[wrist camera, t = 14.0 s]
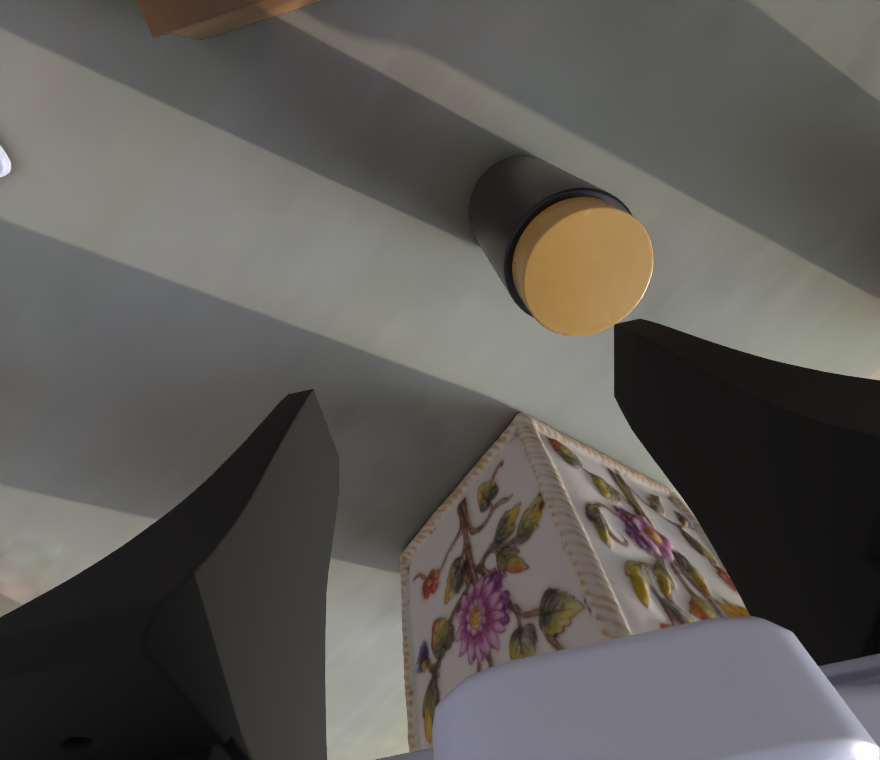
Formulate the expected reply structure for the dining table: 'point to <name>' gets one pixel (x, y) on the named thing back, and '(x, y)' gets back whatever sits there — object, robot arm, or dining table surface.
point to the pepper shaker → (560, 245)
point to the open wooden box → (210, 15)
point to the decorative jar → (546, 565)
